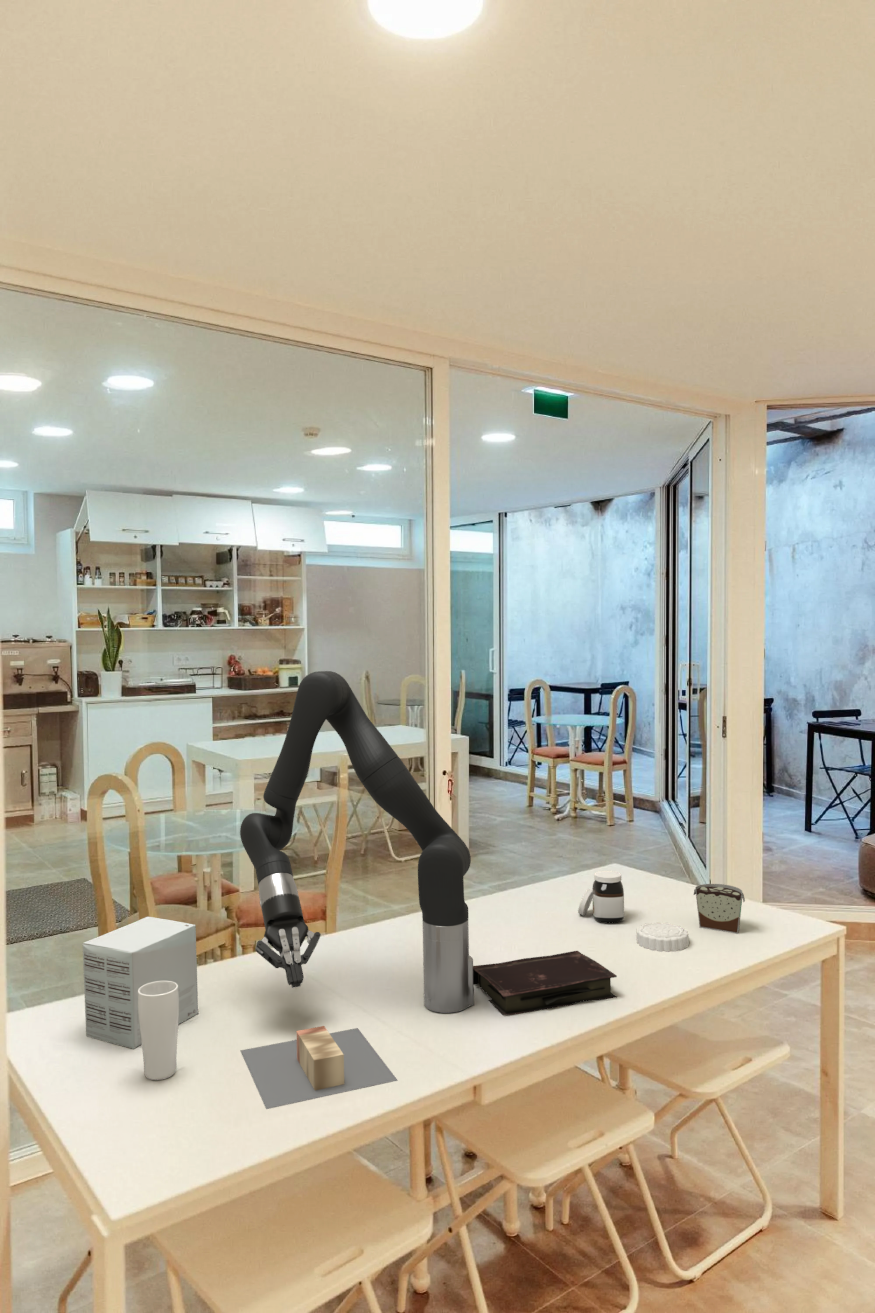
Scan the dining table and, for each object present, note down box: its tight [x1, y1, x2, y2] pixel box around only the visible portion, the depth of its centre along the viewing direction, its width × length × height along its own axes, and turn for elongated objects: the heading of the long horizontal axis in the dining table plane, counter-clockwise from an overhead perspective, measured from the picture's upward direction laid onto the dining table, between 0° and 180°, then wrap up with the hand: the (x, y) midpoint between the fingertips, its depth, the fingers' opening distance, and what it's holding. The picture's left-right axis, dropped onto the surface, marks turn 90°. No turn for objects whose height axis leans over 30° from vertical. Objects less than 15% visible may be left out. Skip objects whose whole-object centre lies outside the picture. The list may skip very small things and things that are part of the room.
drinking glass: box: [138, 981, 179, 1081], centre depth 159 cm, size 7×7×15 cm
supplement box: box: [82, 916, 199, 1050], centre depth 179 cm, size 17×13×18 cm
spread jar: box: [577, 870, 625, 924], centre depth 238 cm, size 12×11×12 cm
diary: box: [473, 950, 618, 1016], centre depth 192 cm, size 19×25×5 cm
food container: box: [693, 883, 746, 934], centre depth 229 cm, size 12×6×10 cm, turn 58°
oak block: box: [295, 1025, 344, 1090], centre depth 158 cm, size 5×5×12 cm
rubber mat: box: [240, 1027, 398, 1110], centre depth 160 cm, size 22×22×1 cm
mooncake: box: [635, 922, 689, 953], centre depth 219 cm, size 12×12×4 cm
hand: (297, 985), depth 172 cm, fingers closed
